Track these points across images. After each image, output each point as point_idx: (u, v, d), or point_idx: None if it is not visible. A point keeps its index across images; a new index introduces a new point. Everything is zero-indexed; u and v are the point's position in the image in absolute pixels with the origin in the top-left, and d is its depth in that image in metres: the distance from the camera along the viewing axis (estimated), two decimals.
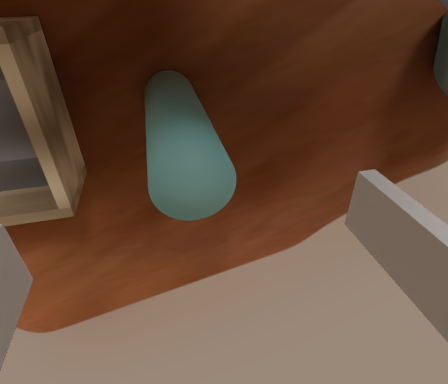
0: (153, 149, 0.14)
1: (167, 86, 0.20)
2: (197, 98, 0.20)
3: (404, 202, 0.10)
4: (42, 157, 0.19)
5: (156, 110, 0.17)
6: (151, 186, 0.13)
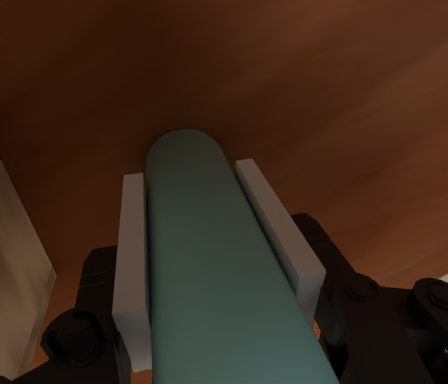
0: None
1: (189, 180, 0.11)
2: (244, 200, 0.11)
3: (258, 187, 0.11)
4: None
5: (173, 264, 0.08)
6: None
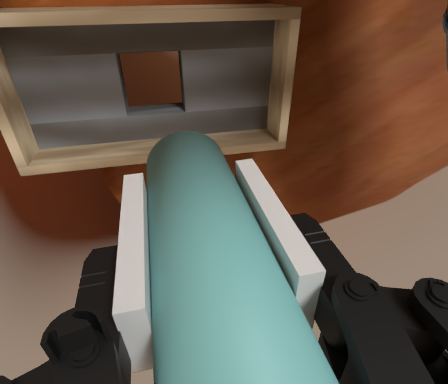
0: None
1: (190, 182, 0.11)
2: (245, 202, 0.11)
3: (258, 187, 0.11)
4: (285, 100, 0.27)
5: (174, 267, 0.08)
6: None
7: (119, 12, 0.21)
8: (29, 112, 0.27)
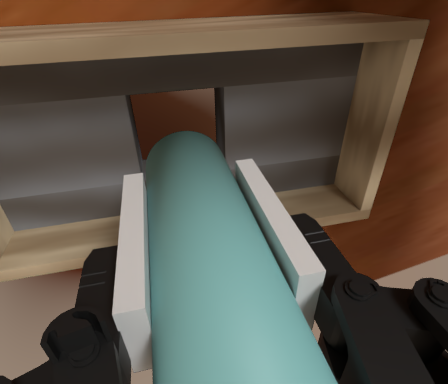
0: None
1: (189, 182, 0.11)
2: (244, 202, 0.11)
3: (258, 187, 0.11)
4: (379, 157, 0.18)
5: (173, 267, 0.08)
6: None
7: (135, 38, 0.12)
8: None
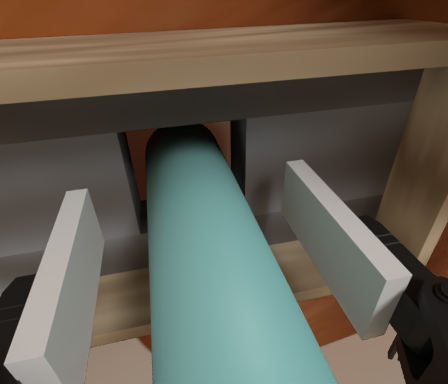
0: None
1: (184, 162, 0.12)
2: (234, 180, 0.12)
3: (317, 188, 0.11)
4: (446, 207, 0.14)
5: (169, 229, 0.09)
6: None
7: (127, 65, 0.08)
8: None
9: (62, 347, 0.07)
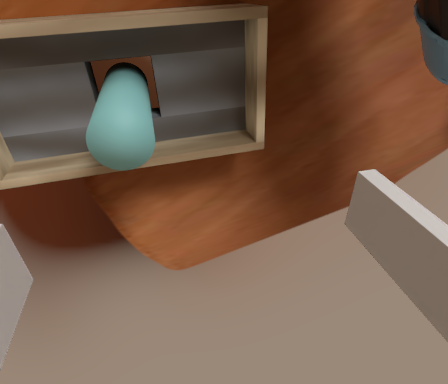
0: (91, 116, 0.19)
1: (116, 73, 0.25)
2: (141, 82, 0.25)
3: (404, 202, 0.10)
4: (259, 100, 0.27)
5: (102, 91, 0.22)
6: (88, 141, 0.18)
7: (81, 20, 0.21)
8: (1, 125, 0.26)
9: None
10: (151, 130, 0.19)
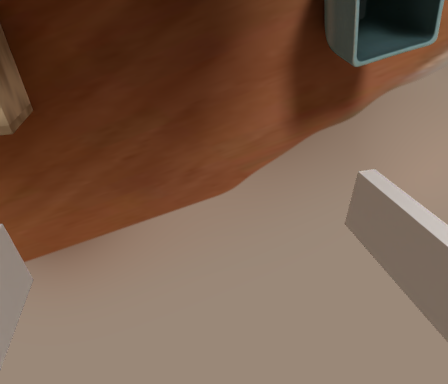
0: None
1: None
2: None
3: (404, 202, 0.10)
4: None
5: None
6: None
7: None
8: None
9: None
10: None
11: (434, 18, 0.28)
